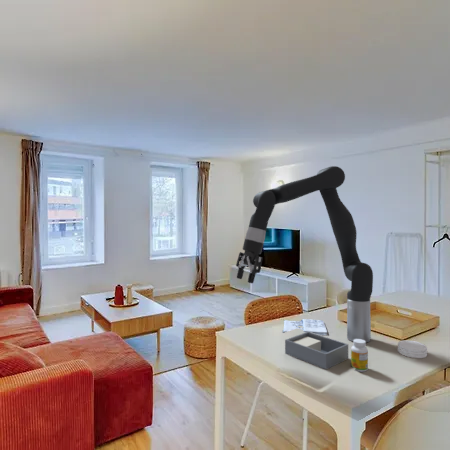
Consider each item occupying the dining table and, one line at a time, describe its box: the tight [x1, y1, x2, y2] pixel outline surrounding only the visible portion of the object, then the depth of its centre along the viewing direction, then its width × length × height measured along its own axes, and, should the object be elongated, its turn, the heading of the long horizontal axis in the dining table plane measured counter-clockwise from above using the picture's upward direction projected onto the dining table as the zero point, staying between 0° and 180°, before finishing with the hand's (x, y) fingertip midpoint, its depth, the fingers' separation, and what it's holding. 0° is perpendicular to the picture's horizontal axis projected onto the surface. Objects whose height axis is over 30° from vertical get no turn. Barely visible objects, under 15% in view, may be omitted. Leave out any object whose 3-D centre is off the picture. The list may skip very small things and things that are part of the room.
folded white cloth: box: [282, 318, 329, 336], centre depth 163 cm, size 19×20×2 cm
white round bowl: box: [397, 339, 428, 359], centre depth 132 cm, size 10×10×4 cm
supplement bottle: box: [350, 339, 369, 373], centre depth 119 cm, size 5×5×10 cm
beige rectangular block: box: [293, 337, 321, 351], centre depth 132 cm, size 10×7×4 cm, turn 129°
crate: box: [284, 332, 349, 370], centre depth 128 cm, size 14×18×6 cm
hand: (244, 280), depth 134 cm, fingers open, 8 cm apart
